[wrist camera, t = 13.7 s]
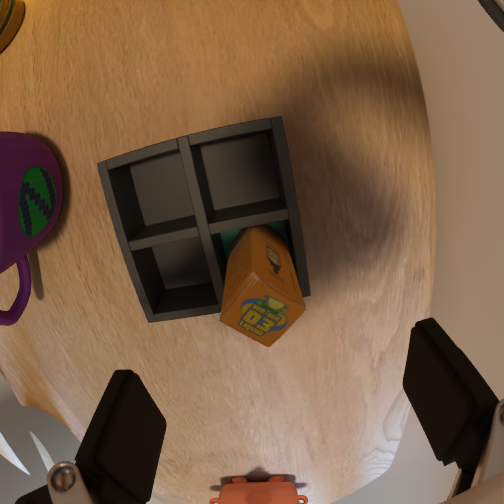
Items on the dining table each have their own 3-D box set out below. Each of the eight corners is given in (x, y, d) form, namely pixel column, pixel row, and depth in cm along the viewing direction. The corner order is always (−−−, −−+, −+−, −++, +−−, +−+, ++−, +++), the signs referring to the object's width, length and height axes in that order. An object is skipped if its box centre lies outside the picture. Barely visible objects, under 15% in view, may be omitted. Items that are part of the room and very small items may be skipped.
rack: (274, 121, 21) (281, 115, 16) (299, 268, 25) (310, 296, 20) (123, 158, 21) (96, 163, 17) (163, 293, 25) (148, 323, 21)
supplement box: (225, 248, 23) (213, 321, 14) (251, 213, 22) (256, 266, 13) (260, 271, 24) (269, 352, 14) (287, 237, 23) (314, 304, 13)
